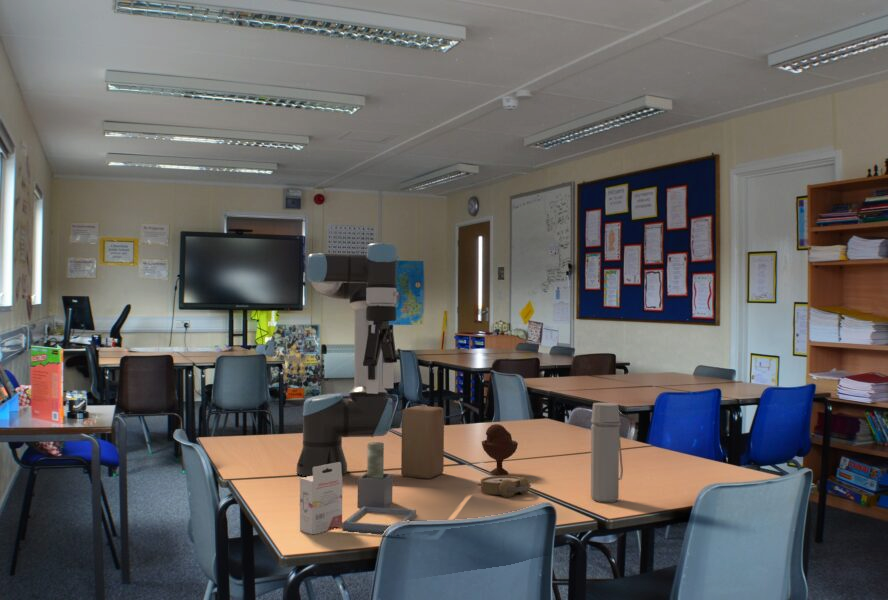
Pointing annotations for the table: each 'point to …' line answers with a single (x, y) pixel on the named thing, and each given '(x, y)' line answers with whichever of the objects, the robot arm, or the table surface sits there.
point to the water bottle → (605, 452)
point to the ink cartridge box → (321, 499)
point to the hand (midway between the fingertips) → (380, 390)
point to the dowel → (375, 460)
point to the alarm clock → (504, 485)
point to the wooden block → (422, 442)
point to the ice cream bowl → (499, 446)
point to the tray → (374, 528)
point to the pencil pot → (375, 491)
